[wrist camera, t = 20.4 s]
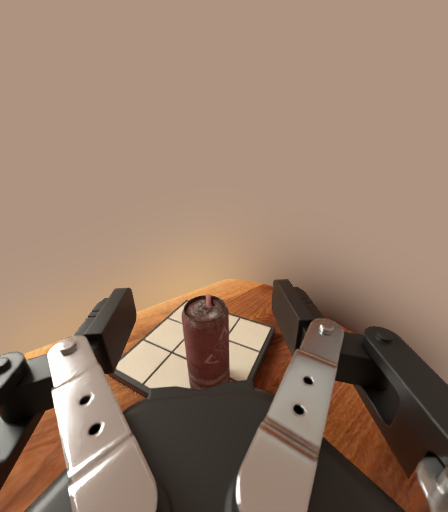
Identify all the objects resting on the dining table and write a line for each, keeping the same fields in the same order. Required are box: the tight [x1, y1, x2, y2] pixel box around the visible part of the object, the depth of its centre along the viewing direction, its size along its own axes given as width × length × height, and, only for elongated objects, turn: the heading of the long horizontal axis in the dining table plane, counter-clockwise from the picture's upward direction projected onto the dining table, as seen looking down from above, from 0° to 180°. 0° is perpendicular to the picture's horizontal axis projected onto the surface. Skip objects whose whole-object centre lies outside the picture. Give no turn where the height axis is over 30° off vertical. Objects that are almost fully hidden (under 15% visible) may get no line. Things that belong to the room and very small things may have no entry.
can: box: [181, 295, 230, 390], centre depth 32 cm, size 6×6×14 cm
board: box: [109, 300, 275, 398], centre depth 42 cm, size 22×22×2 cm
